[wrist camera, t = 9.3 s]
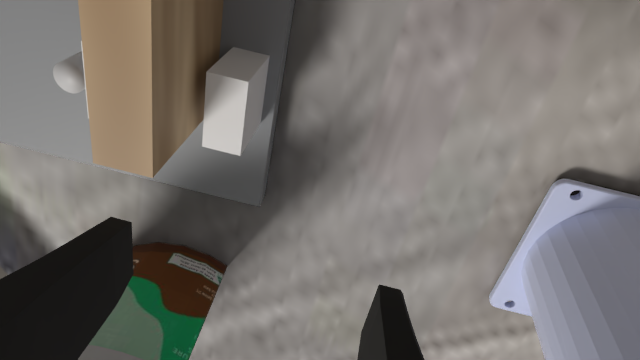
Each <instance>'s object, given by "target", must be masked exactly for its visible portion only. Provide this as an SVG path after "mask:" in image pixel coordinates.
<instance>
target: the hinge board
mask: <svg viewBox="0 0 640 360" xmlns="http://www.w3.org/2000/svg"><path fill="white" fill-rule="evenodd" d="M294 4H295V0H223V14H222V28H221V41H220V55H219V61H217V62H216V63H215V64H214V65H213V66H212V67H211V68H210V69H209V70H208V71H207V72H206V87H205V104H204V120H203V121H202V122H201V123H200V124H199V125H198V126H197V128H196V129H195V130H194V131H193V132H192V133H191V135H190V136H189V137H188V138H187V139H186V140H185V141H184V143H183V144H182V145H181V146H180V147H179V148H178V149H177V151H176V152H175V153H174V154H173V155H172V156H171V158H170V159H169V160H168V161H167V162H166V163H165V164H164V166H163V167H162V168H161V169H160V170H159V171H158V173H157V174H156V175H155V176H154V177H153V178H151V177H147V176H143V175H139V174H135V173H131V172H126V171H122V170H118V169H114V168H110V167H106V166H102V165H98V164H94V163H93V157H92V146H91V135H90V124H89V113H88V102H87V92H86V81H85V70H84V59H83V48H82V37H81V27H80V16H79V5H78V0H0V143H4V144H8V145H12V146H16V147H20V148H24V149H28V150H33V151H37V152H41V153H45V154H49V155H53V156H57V157H61V158H65V159H69V160H73V161H77V162H81V163H85V164H89V165H93V166H97V167H101V168H105V169H109V170H113V171H117V172H121V173H125V174H129V175H133V176H137V177H141V178H145V179H149V180H153V181H157V182H161V183H165V184H169V185H173V186H177V187H181V188H185V189H189V190H193V191H197V192H201V193H205V194H209V195H213V196H217V197H221V198H225V199H229V200H233V201H237V202H241V203H245V204H249V205H253V206H257V207H260V205H261V203H262V201H263V198H264V196H265V191H266V184H267V178H268V171H269V165H270V159H271V152H272V146H273V139H274V133H275V126H276V120H277V113H278V107H279V101H280V94H281V88H282V81H283V75H284V68H285V62H286V55H287V49H288V43H289V36H290V30H291V23H292V17H293V10H294Z"/></svg>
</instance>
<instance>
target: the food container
mask: <svg viewBox="0 0 640 360" xmlns="http://www.w3.org/2000/svg"><path fill="white" fill-rule="evenodd" d="M226 268H227V266H226V265H225V264H223V263H221V262H220V261H218V260H217V259H215V258H213V257H212V256H210V255H208V254H205V253H202V252H200V251H197V250H194V249H192V248H189V247H186V246H183V245H176V244H168V243H161V242H156V243H149V244H141V245H136V246H134V247H133V270H134V274H133V276H132V278H131V280H130V281H129V283H128V285H127V287H126V289H125V291H124V293H123V295H122V296H121V298H120V300H119V302H118V304H117V305H116V307H115V308H114V310H113V311H112V312H111V314H110V315H109V317H108V318H107V319H106V321H105V322H104V324H103V325H102V327H101V328H100V329H99V331H98V332H97V333H96V335H95V336H94V338H93V339H92V340H91V342H90V343H89V345H88V346H87V347H86V349H85V350H84V351H83V353H82V354H81V356H80V357H79V358H78V360H189V358H190V355H191V353H192V350H193V348H194V346H195V343H196V341H197V338H198V336H199V333H200V331H201V329H202V326H203V324H204V321H205V319H206V317H207V314H208V312H209V309H210V307H211V304H212V302H213V300H214V297H215V295H216V292H217V290H218V287H219V285H220V283H221V280H222V278H223V275H224V273H225V271H226Z"/></svg>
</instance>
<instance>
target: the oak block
mask: <svg viewBox="0 0 640 360" xmlns="http://www.w3.org/2000/svg"><path fill="white" fill-rule="evenodd" d="M78 5H79V16H80V27H81V37H82V48H83V59H84V70H85V81H86V92H87V102H88V113H89V124H90V135H91V146H92V157H93V163H94V164H98V165H102V166H106V167H110V168H114V169H118V170H122V171H126V172H131V173H135V174H139V175H143V176H147V177H151V178H153V177H154V176H155V175H156V174H157V173H158V171H159V170H160V169H161V168H162V167H163V166H164V164H165V163H166V162H167V161H168V160H169V159H170V158H171V156H172V155H173V154H174V153H175V152H176V151H177V149H178V148H179V147H180V146H181V145H182V144H183V143H184V141H185V140H186V139H187V138H188V137H189V136H190V135H191V133H192V132H193V131H194V130H195V129H196V128H197V126H198V125H199V124H200V123H201V122H202V121H203V120H204V104H205V87H206V72H207V71H208V70H209V69H210V68H211V67H212V66H213V65H214V64H215V63H216V62H217V61H219V55H220V41H221V28H222V14H223V0H78Z"/></svg>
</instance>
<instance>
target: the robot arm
mask: <svg viewBox="0 0 640 360" xmlns="http://www.w3.org/2000/svg"><path fill="white" fill-rule="evenodd" d="M575 190H580V192H579V193H578V194H576V195H570V194H571V193H572V192H573V191H575ZM133 274H134V270H133V246H132V223H131V222H129V221H125V220H121V219H117V218H113V217H110V218H108V219H107V220H105V221H103V222H101V223H100V224H98V225H96V226H95V227H93V228H91V229H89V230H88V231H86V232H84V233H83V234H81V235H79V236H78V237H76V238H74V239H73V240H71V241H69V242H68V243H66V244H64V245H63V246H61V247H59V248H57V249H56V250H54V251H52V252H50V253H49V254H47V255H45V256H43V257H42V258H40V259H38V260H36V261H34V262H32V263H30V264H29V265H27V266H25V267H23V268H21V269H19V270H17V271H15V272H13V273H11V274H9V275H8V276H6V277H4V278H2V279H0V360H78V358H79V357H80V356H81V354H82V353H83V351H84V350H85V349H86V347H87V346H88V345H89V343H90V342H91V340H92V339H93V338H94V336H95V335H96V333H97V332H98V331H99V329H100V328H101V327H102V325H103V324H104V322H105V321H106V319H107V318H108V317H109V315H110V314H111V312H112V311H113V310H114V308H115V307H116V305H117V304H118V302H119V300H120V298H121V296H122V295H123V293H124V291H125V289H126V287H127V285H128V283H129V281H130V280H131V278H132V276H133ZM489 299H490V303H491V305H492V306H494V307H496V308H500V309H504V310H508V311H512V312H516V313H520V314H524V315H528V316H532V317H533V321H534V324H535V327H536V331H537V334H538V337H539V341H540V344H541V347H542V350H543V354H544V357H545V360H640V196H636V195H632V194H628V193H624V192H620V191H616V190H611V189H607V188H603V187H599V186H595V185H591V184H587V183H583V182H579V181H575V180H570V179H560V180H557V181H556V182H554V183H553V184H552V186H551V187H550V189H549V191H548V193H547V194H546V196H545V198H544V200H543V201H542V203H541V205H540V207H539V208H538V210H537V212H536V214H535V216H534V217H533V219H532V221H531V223H530V224H529V226H528V228H527V230H526V231H525V233H524V235H523V237H522V238H521V240H520V242H519V244H518V246H517V247H516V249H515V251H514V253H513V254H512V256H511V258H510V260H509V261H508V263H507V265H506V267H505V268H504V270H503V272H502V274H501V275H500V277H499V279H498V281H497V283H496V284H495V286H494V288H493V290H492V291H491V293H490V295H489ZM509 300H510V301H511V302H506V301H509ZM358 360H424V358H423V355H422V352H421V350H420V347H419V344H418V342H417V339H416V336H415V333H414V330H413V327H412V324H411V321H410V318H409V314H408V311H407V308H406V304H405V300H404V296H403V293H402V292H401V290H399V289H395V288H391V287H387V286H383V285H379V286H378V289H377V292H376V294H375V297H374V300H373V302H372V305H371V308H370V310H369V313H368V316H367V318H366V321H365V324H364V327H363V329H362V332H361V339H360V346H359V353H358Z"/></svg>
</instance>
